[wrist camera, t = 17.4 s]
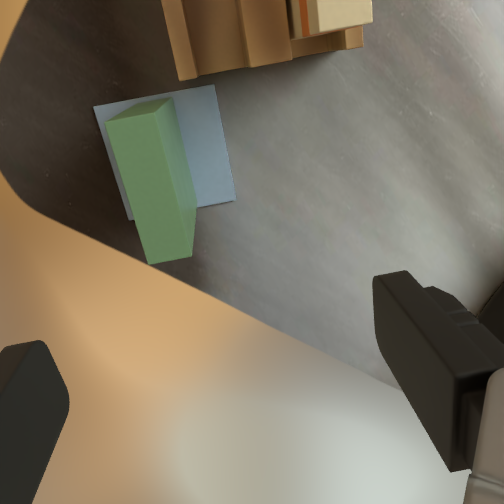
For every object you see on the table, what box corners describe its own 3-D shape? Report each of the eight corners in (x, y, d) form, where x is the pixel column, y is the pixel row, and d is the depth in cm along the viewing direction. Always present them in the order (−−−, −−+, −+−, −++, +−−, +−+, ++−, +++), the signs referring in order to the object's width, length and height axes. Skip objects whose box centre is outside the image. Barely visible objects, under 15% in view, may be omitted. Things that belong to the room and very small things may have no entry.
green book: (165, 208, 46) (148, 264, 33) (136, 103, 41) (103, 122, 28) (197, 202, 46) (191, 256, 33) (172, 96, 41) (154, 112, 28)
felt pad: (129, 219, 46) (128, 220, 46) (93, 106, 41) (92, 106, 41) (236, 199, 46) (236, 200, 46) (214, 83, 41) (214, 84, 41)
